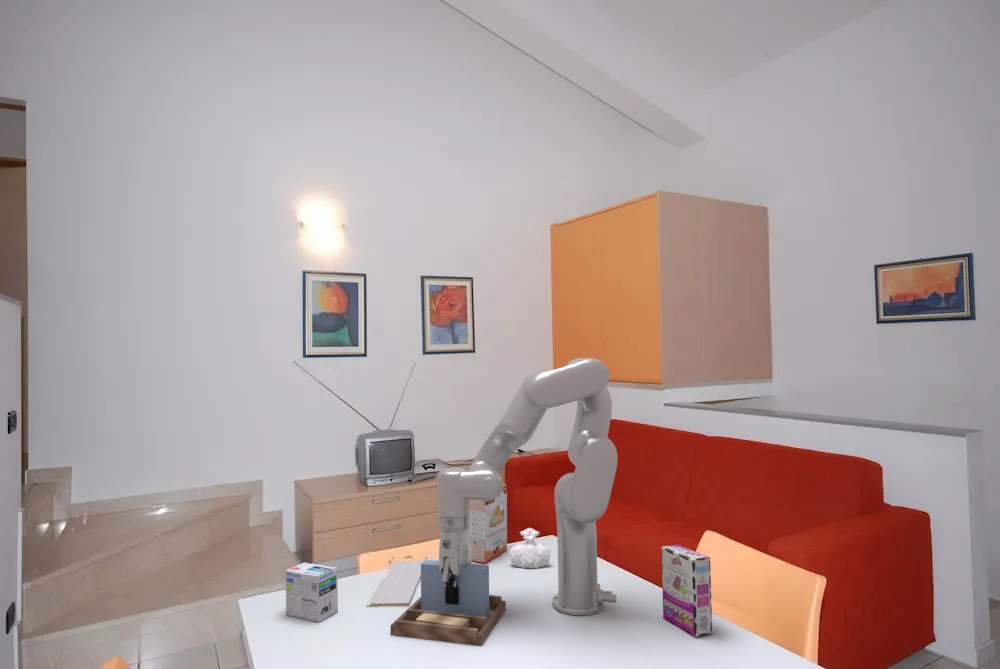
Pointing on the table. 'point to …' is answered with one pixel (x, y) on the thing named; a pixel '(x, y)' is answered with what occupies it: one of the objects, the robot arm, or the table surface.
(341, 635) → the table surface
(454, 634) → the rack
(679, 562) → the candy bar box
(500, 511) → the cracker box
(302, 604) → the light bulb box
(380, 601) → the baseboard molding
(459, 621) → the tan rectangular block
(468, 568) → the blue rectangular block
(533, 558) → the tied white plastic bag
